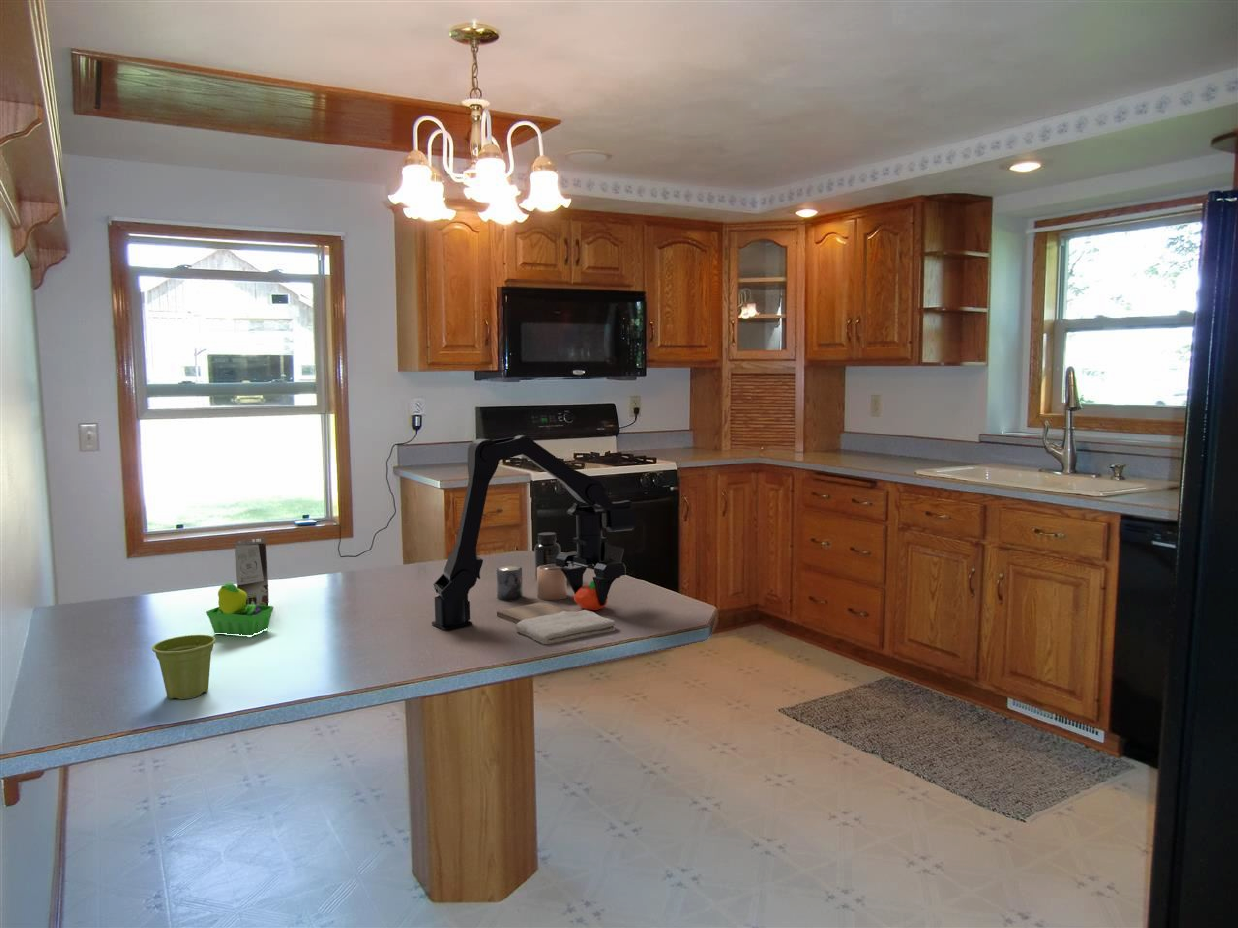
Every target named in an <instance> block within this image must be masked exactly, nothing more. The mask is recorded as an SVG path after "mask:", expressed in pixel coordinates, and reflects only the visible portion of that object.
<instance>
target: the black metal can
mask: <svg viewBox="0 0 1238 928" xmlns="http://www.w3.org/2000/svg"><path fill="white" fill-rule="evenodd" d="M523 589H524V588H523V567H522V566H518V565H505V566H499V567H497V568H496V592H497V594H496V596H497V599H498V600H500V601H508V602H510V601H511V602H512V601H518V600H521V599H522V598H523V597H524V596H523V595H524V593H523V591H524V590H523Z"/></svg>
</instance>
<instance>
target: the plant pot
mask: <svg viewBox="0 0 1238 928" xmlns="http://www.w3.org/2000/svg"><path fill="white" fill-rule="evenodd" d="M215 643H216V637H215V636H213V635H209V634H191V635H189V634H188V635H181V636H175V637H172V638H166V639H165V640H161V641H160V642H157V643H155V644H153V645H152V646H151V650H152V652H154V653H155V657H156V659H157V660H158V663H159V666H160V670H161V675H162V678H163V685H164V688H165V693H166V697H167V698H168V699H175V698H176V699H178V700H187V699H192V698H196V697H198V696H201V695H202V694H203V693H207V692H208V691H209V684H210V683H209V682H210V681H209V680H210V670H211V669H210V668H211V667H210V666H211V659H212V658H211V656H212V651H213V650H214V649H213V648H214V644H215Z"/></svg>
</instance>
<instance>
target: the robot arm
mask: <svg viewBox="0 0 1238 928" xmlns="http://www.w3.org/2000/svg"><path fill="white" fill-rule="evenodd" d="M518 456H523V457H524V458H525V459H527V460H528V461H529V462H532V463H533V464H534V465H536V466H537V467H538V468H539V469H541V470H543V471H544V472H546V473H548V475H550V476H551V477H552V478H555V479H557V481H559V482H560V483H561V484H562V485H563V486H564V488H565V489H566V491H568V492H569V494H571V496H572V497H573V498H575V499H576V500H577V501H578V502H582V503H585V504H586V505H583V506H580V505H579V504H577V503H576V502H575V503H572V506H571V507H570V508H568V510H567V511H566V513H567V515H568V514H569V515H571V516H576V517H575V518H576V520H575V521H576V537H572V543H573V544H576V550H574V551H568V552H566V551H565V552H562V553H560V554H559V555H558V556H557V557H556V566H558V567H562V568H560V569H561V571H563V573H564V575H565V576H566V581H567V583H569V587H571V589H572V592H573V593H574V595H575V594H576V592H577V591H578V590H579V589H580V588H581V587H582V586H584V584H583V583H584V574H585V572H586V571H587V569H590V570H593V573H594V575H595V576H592V581H593V582H594V587H595V590H596V594H597V598H598V602H599V605H600V606H603V605H605V602H606V599H607V597H608V595H609V592H610V589H611V586H612V584H613V583H614V581H616V580H617V579H619V578H621V576H626V573H627V571H626V566H627V565H625V564H624V562H622V558H623V555H624V552H625V551H624V550H625V548H621V547H618V546H616V545H612V544H611V545H610V544H609V541H608V539H607V537H603V528H604V529H606V531H607V532H608V533H613V532H624V531H633V530H634V529H635V527H636V525H637V518H636V514H635V510H634V508H633V506H632V501H631V500H628V499H627V500H625V499H624V500H621V501H612V500H611V499H610V498H609V496H608V495H607V493H606V490H605V484H604V483H603V482H602V481H601V480H599V479H597V478H595V477H592V476H590V475H588V474H586V473H583V472H580V471H579V470H576V469H574V468H573V467H571V466H570V465H568V464H566V463H565V462H564V461H562V460H561V459H560V458H558V457H557V456H556V455H554V454H552V453H551V452H550V451H549V450H547V449H546V448H544V447H543V446H541V445H540V444H538V443H537V442H535V440H533V438H532V437H531V436H529V435H523V434H518V435H516V436H513V437H512V436H511V437H505V438H499V439H498V438H497V439H492V440H491V439H488V438H481V437H480V438H475V440H473V441H471V442H470V443H469V445H468V448H467V462H466V463H467V473H468V481H467V486H466V492H465V497H464V500H463V501H464V503H463V507H462V512H461V516H460V517H461V518H460V521H459V527H458V532H457V537H456V542H455V545H454V547H453V549H452V550H451V552H450V553H449V555H448V557H447V561H446V562H445V566H444V568H443V574H441V575H440V577H438V579H437V580H436V581H435V582H434V583H433V587H434V590H435V593H436V594H438V596H434V618H435V619H434V620H435V621H432V622H431V625H433V626H435V627H437V628H439V629H442V630H444V631H450V630H455V629H459V628H463V627H468V626H472V625H474V624H473V621H471V602H470V600H469V592H470V591H471V589H472V588H474V586H475V585H476V583H477V582H478V581H477V580H481V574H480V573H481V569H482V567H483V564H484V559H483V558H482V557H480V556H478V555H477V545H478V540H479V535H480V530H481V524H482V519H483V515H484V509H485V505H486V501H487V495H488V491H489V490H488V489H489V486H490V482H491V480H492V479H493V478H494V475H495V474H496V472H497V469H498V467H499V464H500V462H501V461H503V460H504V461H505V460H508V459H511V458H514V457H518ZM593 506H595V507H596V506H597V507H599V508H597V509H595V508H594V507H593ZM607 600H608V599H607Z"/></svg>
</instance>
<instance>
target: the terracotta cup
mask: <svg viewBox="0 0 1238 928" xmlns="http://www.w3.org/2000/svg"><path fill="white" fill-rule="evenodd" d="M560 568H562V567H558V566H556V565H543V566H539V567H537V580H536V592H537V593H536V594H537V599H539V600H543V601H558V600H562V599H566V598H567V597H568V595H567V593H568V592H567V588H568V587H567V586H568V585H567V584H568V580H567V578H566V576H565V575H564V573H563V571H561V569H560Z"/></svg>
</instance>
